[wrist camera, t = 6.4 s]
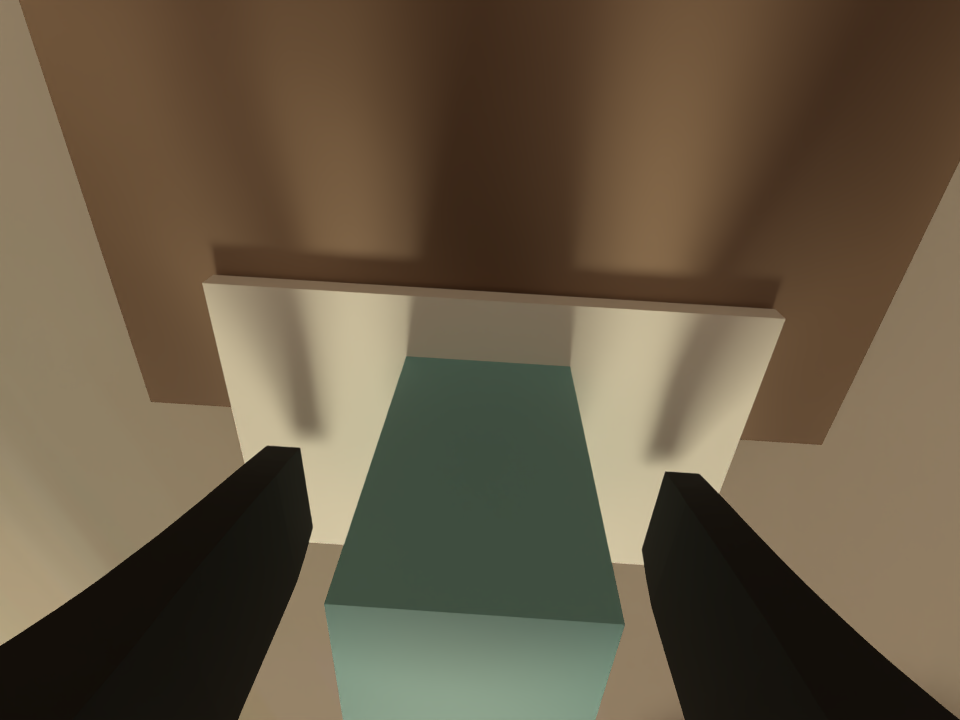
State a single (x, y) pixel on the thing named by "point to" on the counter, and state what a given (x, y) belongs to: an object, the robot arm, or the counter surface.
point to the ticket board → (513, 159)
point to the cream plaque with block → (482, 470)
